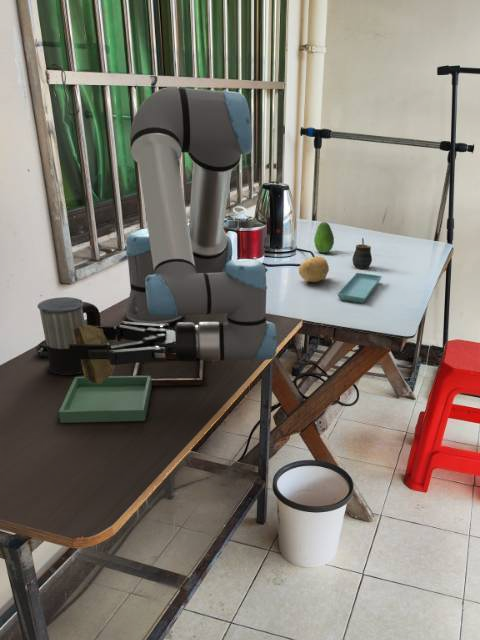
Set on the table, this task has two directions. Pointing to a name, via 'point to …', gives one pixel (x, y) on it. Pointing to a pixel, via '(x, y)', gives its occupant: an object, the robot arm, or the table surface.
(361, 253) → the mate gourd
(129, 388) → the green tray
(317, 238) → the avocado
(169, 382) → the wooden frame
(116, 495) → the table surface
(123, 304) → the table surface
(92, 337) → the rock
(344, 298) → the rectangular tray
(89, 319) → the milk frother
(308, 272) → the potato
